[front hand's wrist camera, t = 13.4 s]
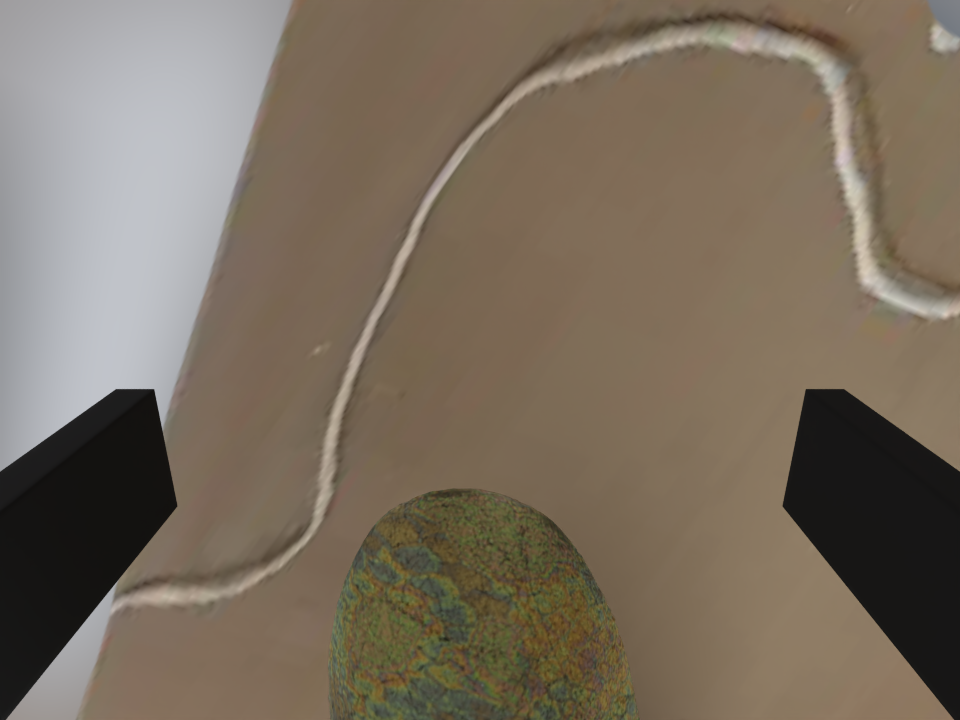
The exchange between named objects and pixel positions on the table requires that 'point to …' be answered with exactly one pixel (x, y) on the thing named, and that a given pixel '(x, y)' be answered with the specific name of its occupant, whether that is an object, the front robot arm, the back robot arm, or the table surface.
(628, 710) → the ballet flat
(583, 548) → the table surface
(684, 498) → the table surface
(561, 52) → the table surface
